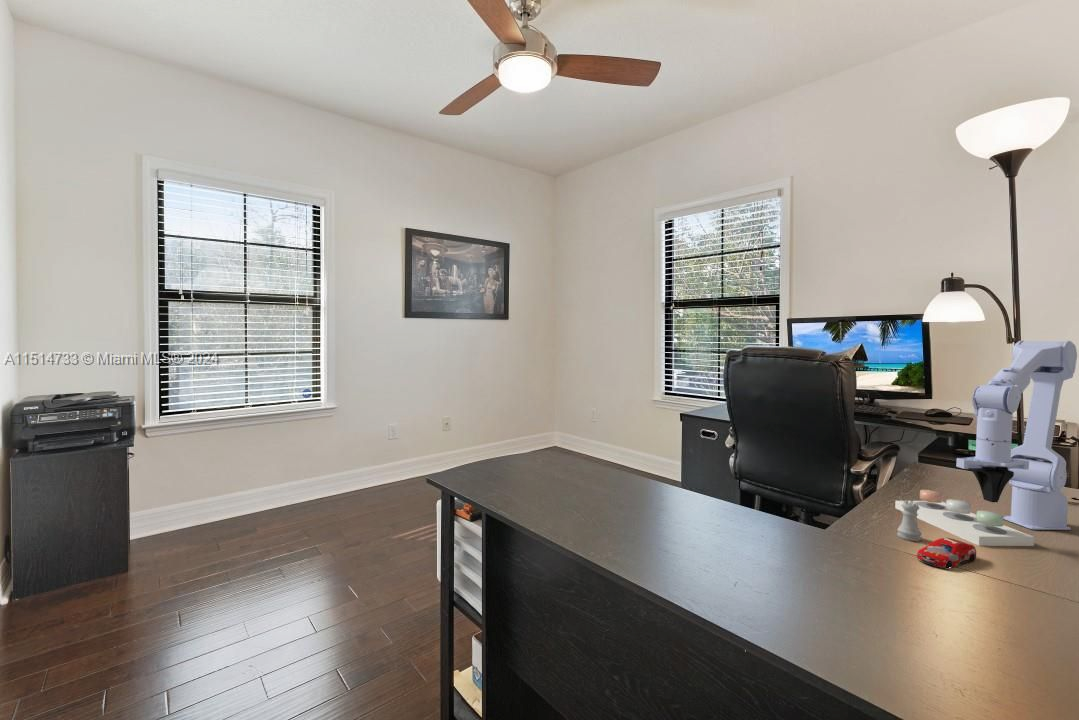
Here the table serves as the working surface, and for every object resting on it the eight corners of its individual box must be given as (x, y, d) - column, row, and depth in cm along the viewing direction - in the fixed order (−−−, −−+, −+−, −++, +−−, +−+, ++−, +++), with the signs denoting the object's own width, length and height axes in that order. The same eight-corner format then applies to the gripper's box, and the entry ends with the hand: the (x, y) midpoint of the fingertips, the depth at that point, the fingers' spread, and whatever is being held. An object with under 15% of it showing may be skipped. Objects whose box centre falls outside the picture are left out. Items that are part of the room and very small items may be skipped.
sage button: (990, 519, 112) (990, 510, 112) (1009, 526, 107) (1009, 517, 107) (971, 519, 112) (971, 510, 111) (989, 526, 107) (989, 517, 107)
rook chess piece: (926, 543, 106) (927, 506, 106) (902, 541, 107) (904, 504, 107) (915, 535, 111) (916, 499, 111) (892, 533, 112) (894, 498, 111)
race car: (942, 573, 93) (942, 552, 93) (910, 561, 98) (911, 541, 98) (982, 561, 98) (983, 541, 98) (951, 551, 103) (951, 532, 103)
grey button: (959, 507, 120) (959, 499, 120) (975, 513, 115) (976, 505, 115) (941, 507, 120) (941, 499, 119) (957, 513, 115) (957, 505, 115)
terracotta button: (932, 497, 128) (932, 489, 128) (946, 502, 123) (946, 494, 123) (915, 497, 128) (915, 489, 127) (929, 502, 123) (929, 494, 123)
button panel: (940, 508, 130) (940, 500, 130) (1033, 546, 106) (1034, 535, 106) (895, 508, 129) (895, 499, 129) (978, 545, 105) (979, 535, 105)
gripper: (977, 442, 105) (974, 506, 105) (1044, 443, 105) (1041, 507, 105) (949, 436, 112) (946, 496, 112) (1012, 437, 112) (1009, 496, 112)
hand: (990, 500), depth 109 cm, fingers closed
